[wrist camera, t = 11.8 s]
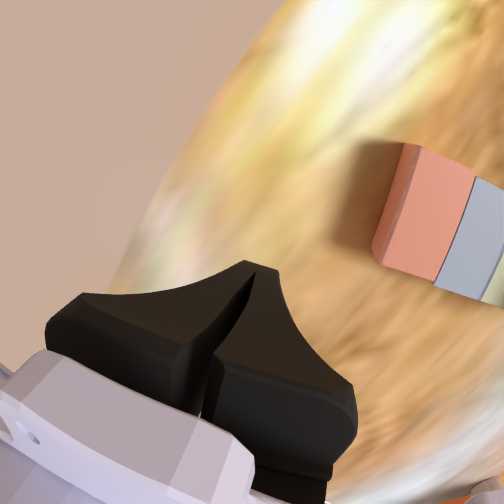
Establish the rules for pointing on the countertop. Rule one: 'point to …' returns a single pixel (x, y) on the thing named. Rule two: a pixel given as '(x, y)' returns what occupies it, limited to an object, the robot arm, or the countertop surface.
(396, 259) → the terracotta book
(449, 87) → the countertop surface
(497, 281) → the sage book
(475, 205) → the slate book
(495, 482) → the house plant
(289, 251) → the countertop surface
